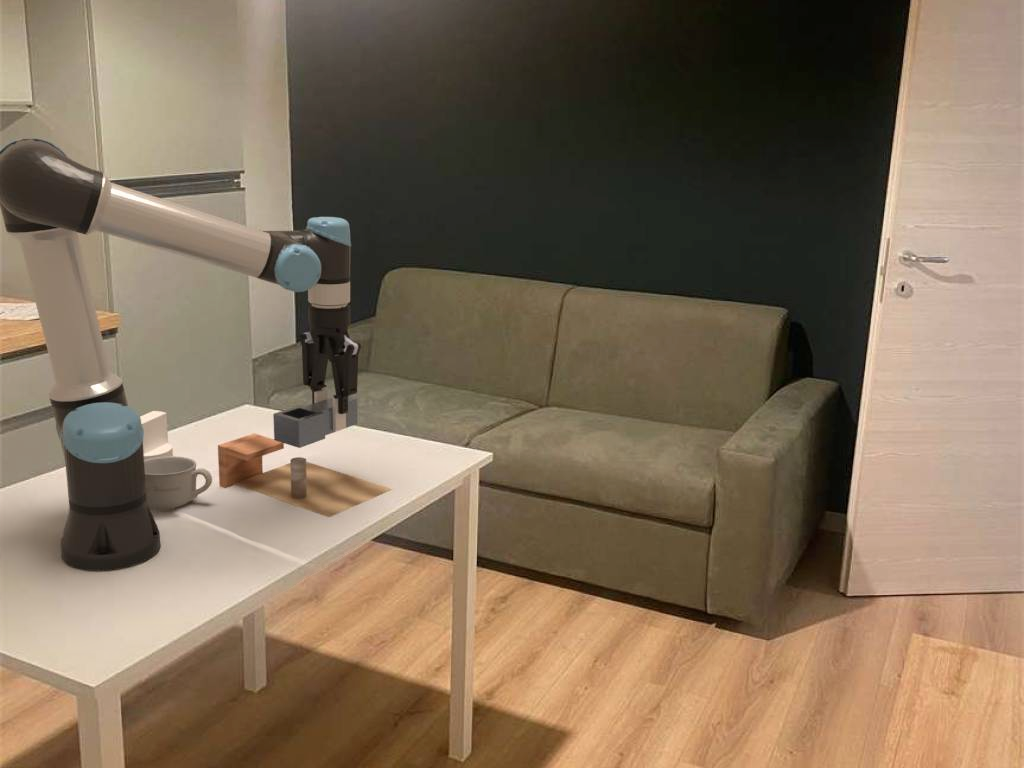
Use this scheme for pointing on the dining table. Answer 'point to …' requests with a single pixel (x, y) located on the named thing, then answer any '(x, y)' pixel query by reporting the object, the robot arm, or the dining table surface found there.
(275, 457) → the dining table surface
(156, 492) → the teacup
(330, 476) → the board
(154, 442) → the cylinder with rectangular tab
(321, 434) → the grey socket block
